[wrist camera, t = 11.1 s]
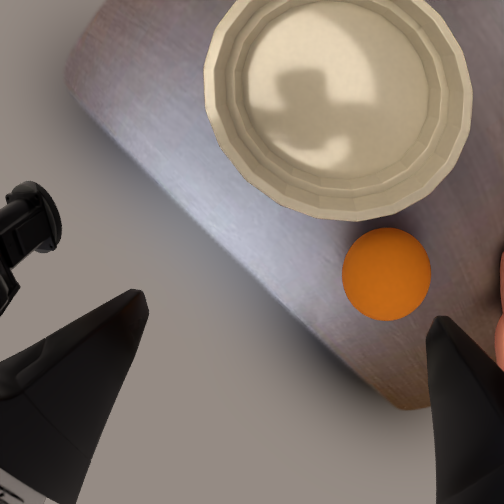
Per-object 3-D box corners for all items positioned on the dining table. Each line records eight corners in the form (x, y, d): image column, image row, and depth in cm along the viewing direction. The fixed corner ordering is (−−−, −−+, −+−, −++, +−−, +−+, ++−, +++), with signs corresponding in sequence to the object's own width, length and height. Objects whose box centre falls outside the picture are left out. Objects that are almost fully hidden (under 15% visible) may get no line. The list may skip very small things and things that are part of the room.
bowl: (231, 186, 21) (212, 212, 17) (224, -9, 14) (200, -30, 10) (427, 201, 19) (450, 231, 15) (440, 8, 12) (470, -5, 8)
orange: (335, 280, 23) (336, 337, 18) (344, 208, 20) (353, 255, 15) (407, 285, 22) (424, 341, 17) (425, 216, 19) (455, 263, 14)
